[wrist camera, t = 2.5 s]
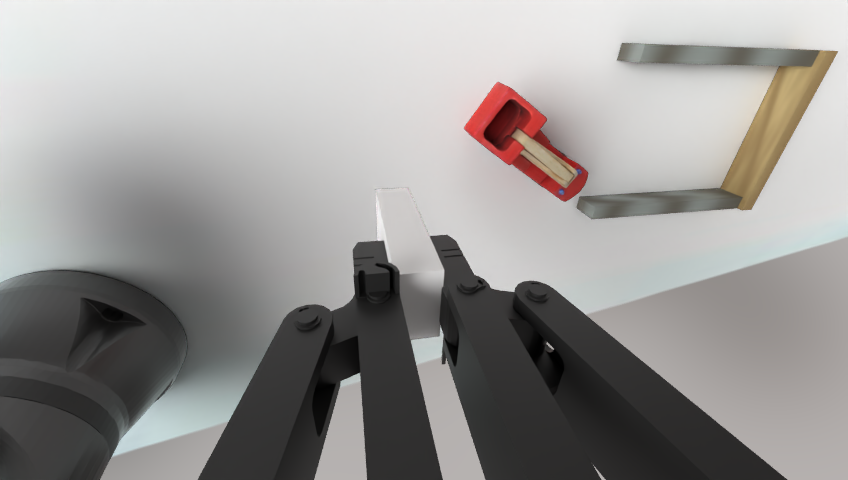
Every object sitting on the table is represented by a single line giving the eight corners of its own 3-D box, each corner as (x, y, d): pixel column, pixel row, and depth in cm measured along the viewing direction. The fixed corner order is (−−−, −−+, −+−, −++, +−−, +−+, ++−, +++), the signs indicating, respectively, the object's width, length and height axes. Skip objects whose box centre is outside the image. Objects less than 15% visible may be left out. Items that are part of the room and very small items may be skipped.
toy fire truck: (546, 190, 34) (612, 242, 26) (433, 107, 28) (474, 139, 20) (570, 161, 33) (648, 205, 25) (459, 67, 27) (513, 85, 19)
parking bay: (576, 207, 36) (595, 221, 33) (621, 43, 28) (650, 44, 26) (724, 197, 39) (751, 209, 37) (798, 49, 32) (838, 51, 29)
